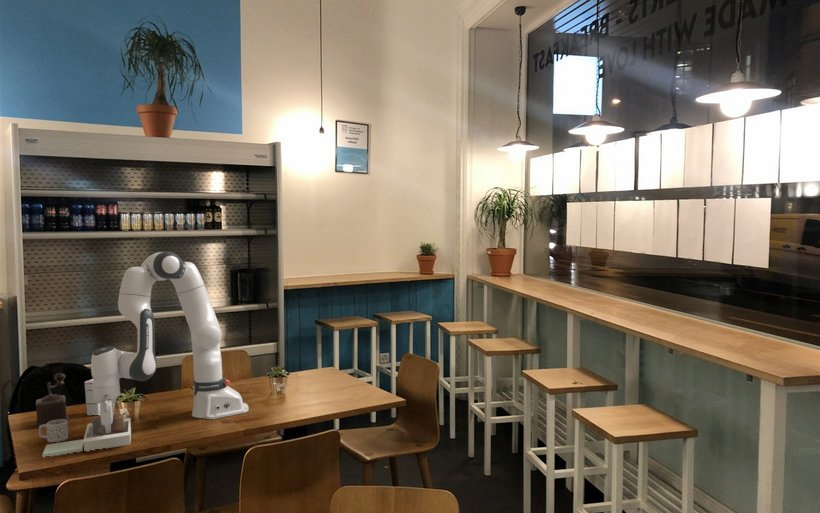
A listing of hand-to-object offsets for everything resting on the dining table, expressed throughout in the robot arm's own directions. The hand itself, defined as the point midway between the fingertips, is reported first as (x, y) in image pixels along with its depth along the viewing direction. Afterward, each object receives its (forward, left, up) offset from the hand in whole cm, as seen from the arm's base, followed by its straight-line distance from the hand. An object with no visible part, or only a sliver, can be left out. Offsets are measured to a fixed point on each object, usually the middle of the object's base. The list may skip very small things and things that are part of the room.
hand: (108, 429), depth 224 cm
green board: (+14, +2, -4) cm, 15 cm away
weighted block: (0, 0, -4) cm, 4 cm away
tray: (0, 0, -4) cm, 4 cm away
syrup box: (+6, -40, -5) cm, 41 cm away
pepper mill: (+22, -38, -5) cm, 44 cm away
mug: (+19, -12, -5) cm, 23 cm away
